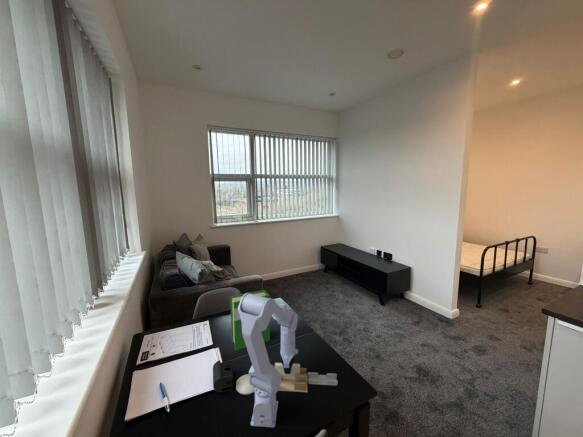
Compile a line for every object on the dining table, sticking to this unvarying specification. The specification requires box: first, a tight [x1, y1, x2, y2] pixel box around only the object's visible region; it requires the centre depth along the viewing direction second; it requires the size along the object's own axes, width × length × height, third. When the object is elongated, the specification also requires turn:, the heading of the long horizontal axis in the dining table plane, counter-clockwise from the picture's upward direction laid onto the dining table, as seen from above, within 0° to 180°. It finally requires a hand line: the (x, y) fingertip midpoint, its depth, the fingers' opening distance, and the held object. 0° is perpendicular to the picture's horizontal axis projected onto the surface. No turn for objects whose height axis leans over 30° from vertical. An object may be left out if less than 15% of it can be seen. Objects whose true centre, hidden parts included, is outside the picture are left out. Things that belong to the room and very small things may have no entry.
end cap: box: [212, 359, 234, 394], centre depth 96 cm, size 10×7×7 cm
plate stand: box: [307, 371, 339, 386], centre depth 98 cm, size 5×12×2 cm, turn 86°
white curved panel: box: [274, 362, 301, 379], centre depth 98 cm, size 2×10×6 cm, turn 86°
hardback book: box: [230, 289, 271, 352], centre depth 121 cm, size 18×7×24 cm, turn 116°
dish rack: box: [273, 365, 308, 393], centre depth 96 cm, size 9×16×4 cm, turn 86°
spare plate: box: [235, 373, 255, 395], centre depth 96 cm, size 9×9×1 cm
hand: (287, 371), depth 98 cm, fingers closed on white curved panel, 2 cm apart
